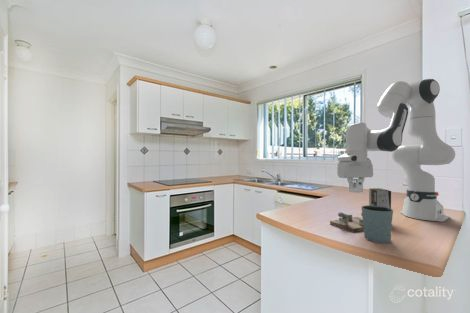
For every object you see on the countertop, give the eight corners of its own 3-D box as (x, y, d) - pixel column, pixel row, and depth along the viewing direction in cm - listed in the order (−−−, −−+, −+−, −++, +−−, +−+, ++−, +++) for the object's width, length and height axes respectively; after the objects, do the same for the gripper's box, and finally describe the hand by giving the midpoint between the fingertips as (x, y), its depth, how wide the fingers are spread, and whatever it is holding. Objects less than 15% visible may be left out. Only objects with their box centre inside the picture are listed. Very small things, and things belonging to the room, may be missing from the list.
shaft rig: (358, 219, 110) (358, 205, 110) (382, 226, 99) (382, 211, 99) (328, 224, 101) (328, 209, 101) (351, 232, 90) (351, 215, 90)
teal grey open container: (399, 242, 80) (399, 210, 80) (378, 245, 77) (378, 212, 77) (374, 233, 90) (375, 204, 90) (355, 235, 87) (355, 205, 87)
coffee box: (391, 225, 101) (391, 190, 101) (376, 224, 102) (376, 190, 102) (382, 219, 110) (382, 188, 110) (368, 219, 111) (368, 187, 111)
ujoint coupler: (354, 191, 103) (354, 178, 103) (363, 192, 99) (363, 179, 99) (348, 191, 101) (348, 178, 101) (357, 192, 97) (357, 179, 97)
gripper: (364, 157, 107) (364, 185, 107) (335, 157, 99) (334, 187, 99) (377, 158, 102) (376, 187, 102) (347, 157, 93) (346, 189, 93)
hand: (355, 187), depth 100 cm, fingers closed on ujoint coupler, 4 cm apart
